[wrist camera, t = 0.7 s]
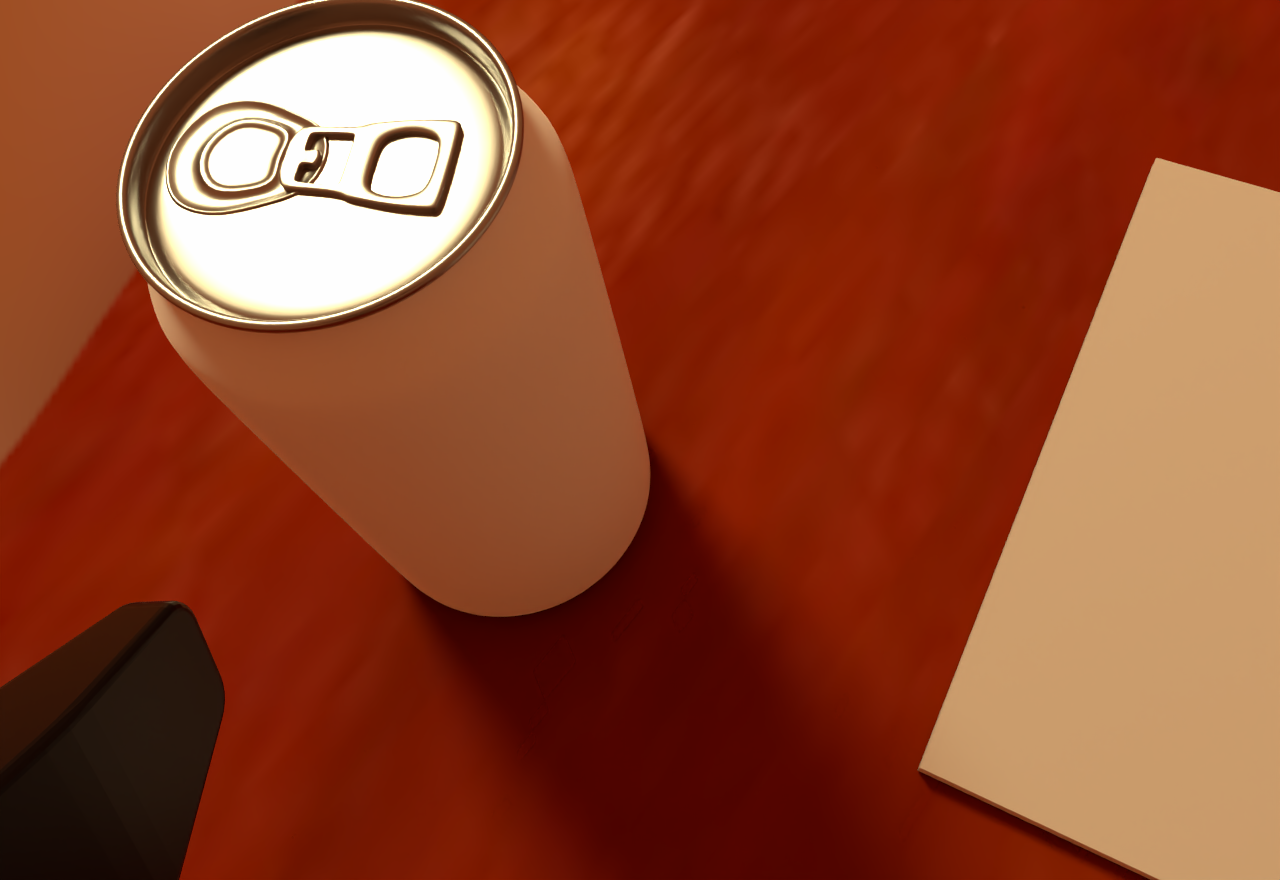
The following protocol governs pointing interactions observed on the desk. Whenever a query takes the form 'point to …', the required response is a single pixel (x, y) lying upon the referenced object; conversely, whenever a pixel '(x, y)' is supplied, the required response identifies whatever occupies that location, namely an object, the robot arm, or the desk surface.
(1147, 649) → the beige mat
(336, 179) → the can
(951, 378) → the desk surface
